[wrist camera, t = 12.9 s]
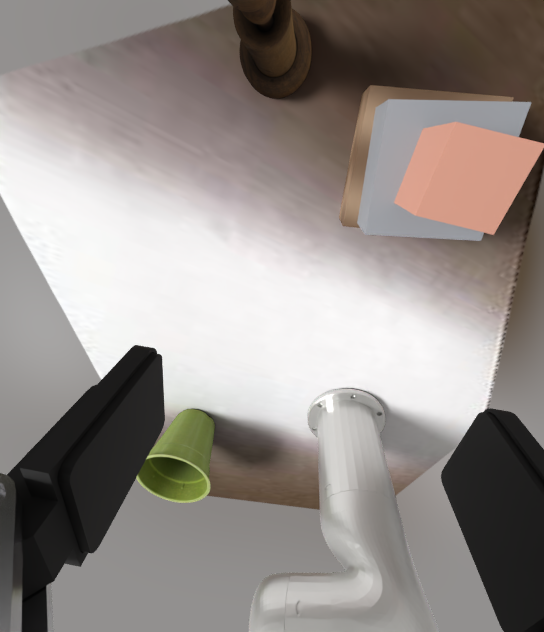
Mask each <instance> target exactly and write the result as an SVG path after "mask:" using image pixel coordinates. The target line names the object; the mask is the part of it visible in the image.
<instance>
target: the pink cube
mask: <svg viewBox="0 0 544 632" xmlns="http://www.w3.org/2000/svg"><path fill="white" fill-rule="evenodd" d="M543 148H544V143H540V142H536V141H532V140H528V139H524V138H520V137H516V136H512V135H508V134H504V133H500V132H496V131H492V130H488V129H484V128H480V127H476V126H471V125H467V124H463V123H459V122H452V123H448V124H443V125H438V126H433V127H428V128H423V130H422V132H421V135H420V137H419V140H418V142H417V145H416V147H415V150H414V153H413V155H412V158H411V160H410V163H409V165H408V168H407V170H406V173H405V175H404V178H403V181H402V183H401V186H400V188H399V191H398V193H397V196H396V198H395V201H394V203H395V204H397V205H399V206H400V207H402V208H404V209H405V210H407V211H409V212H410V213H412V214H414V215H415V216H419V217H423V218H427V219H431V220H435V221H439V222H443V223H447V224H451V225H455V226H460V227H464V228H468V229H472V230H476V231H480V232H484V233H488V234H492V235H494V233H495V232H496V230H497V228H498V226H499V225H500V223H501V221H502V219H503V218H504V216H505V214H506V212H507V211H508V209H509V207H510V206H511V204H512V202H513V200H514V199H515V197H516V195H517V193H518V192H519V190H520V188H521V186H522V185H523V183H524V181H525V180H526V178H527V176H528V174H529V173H530V171H531V169H532V167H533V166H534V164H535V162H536V161H537V159H538V157H539V155H540V154H541V152H542V150H543Z"/></svg>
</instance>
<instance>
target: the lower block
mask: <svg viewBox="0 0 544 632" xmlns="http://www.w3.org/2000/svg"><path fill="white" fill-rule="evenodd" d="M513 98H514V97H504V96H492V95H481V94H469V93H457V92H446V91H434V90H422V89H411V88H399V87H387V86H376V85H370V86H369V87H368V88H367V89H366V90H365V92H364V93H363V94H362V98H361V103H360V108H359V114H358V119H357V124H356V130H355V135H354V140H353V146H352V151H351V156H350V162H349V167H348V172H347V178H346V183H345V188H344V194H343V199H342V205H341V210H340V215H339V218H340V221H341V223H342V225H343V226H348V227H357V228H360V227H359V225H358V224H357V221H358V215H359V208H360V202H361V196H362V190H363V184H364V177H365V171H366V165H367V159H368V152H369V146H370V140H371V134H372V128H373V121H374V115H375V109H376V107H378V106H379V105H381V104H382V103H384V102H385V101H387V100H388V99H402V100H451V101H500V102H512V101H513Z"/></svg>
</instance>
